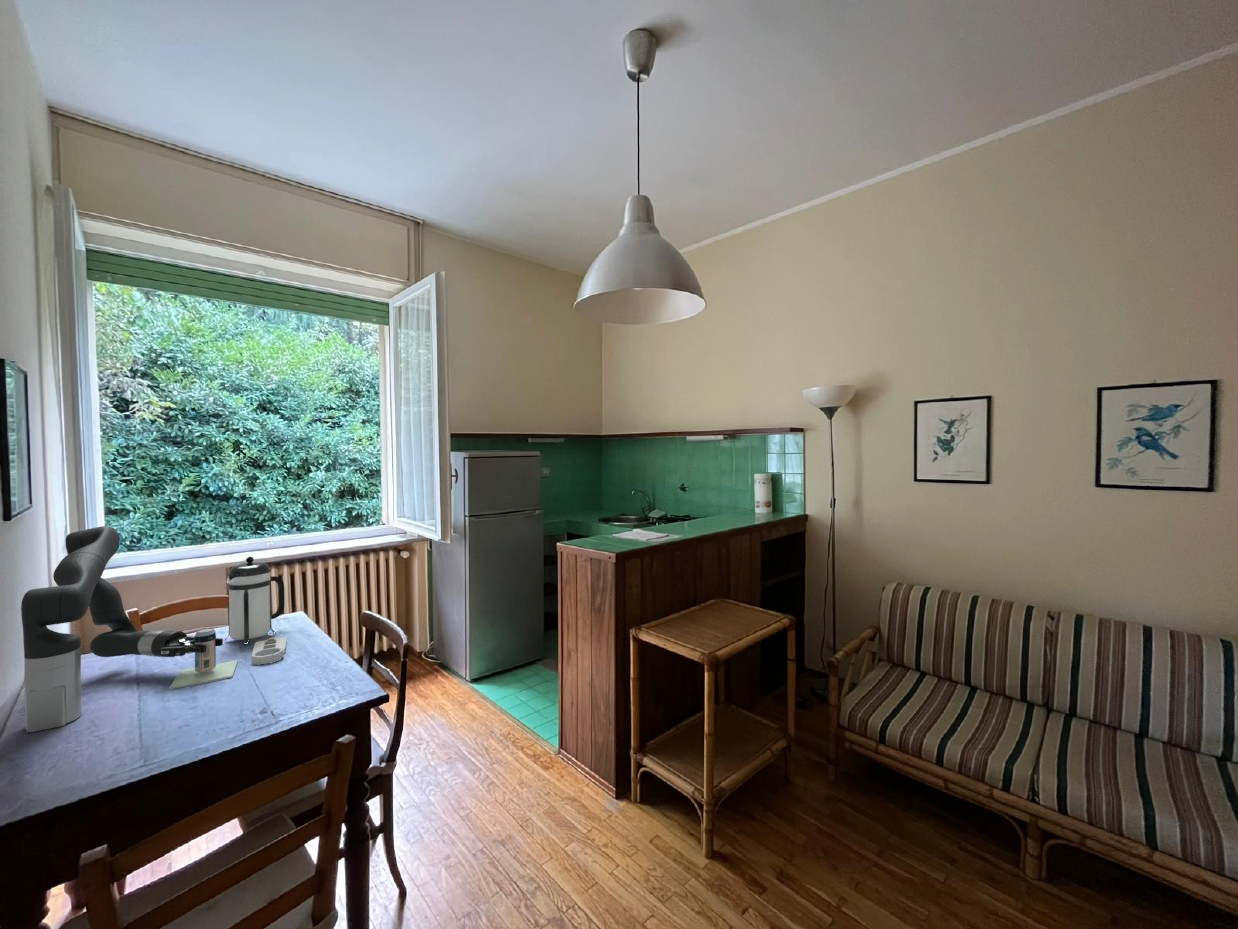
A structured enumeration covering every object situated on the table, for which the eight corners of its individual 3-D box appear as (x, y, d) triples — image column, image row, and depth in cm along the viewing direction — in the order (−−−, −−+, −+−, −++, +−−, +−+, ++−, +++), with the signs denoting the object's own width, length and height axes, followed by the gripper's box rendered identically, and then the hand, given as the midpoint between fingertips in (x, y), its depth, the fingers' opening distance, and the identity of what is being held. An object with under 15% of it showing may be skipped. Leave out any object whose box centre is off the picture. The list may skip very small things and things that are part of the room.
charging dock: (283, 660, 160) (283, 653, 160) (249, 667, 155) (249, 659, 155) (286, 641, 178) (286, 634, 178) (255, 646, 173) (255, 639, 173)
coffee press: (272, 642, 177) (271, 558, 177) (217, 649, 171) (216, 562, 171) (285, 627, 193) (284, 550, 193) (235, 633, 187) (234, 554, 187)
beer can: (219, 666, 152) (219, 627, 152) (207, 673, 147) (207, 633, 147) (203, 667, 152) (203, 627, 152) (190, 673, 147) (190, 633, 147)
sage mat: (232, 677, 147) (232, 675, 147) (169, 689, 140) (169, 687, 140) (237, 662, 159) (237, 660, 159) (180, 672, 151) (180, 670, 151)
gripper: (137, 639, 144) (190, 641, 142) (185, 623, 158) (234, 625, 156) (137, 665, 144) (190, 667, 142) (185, 647, 158) (234, 649, 156)
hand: (213, 645), depth 149 cm, fingers closed on beer can, 4 cm apart
